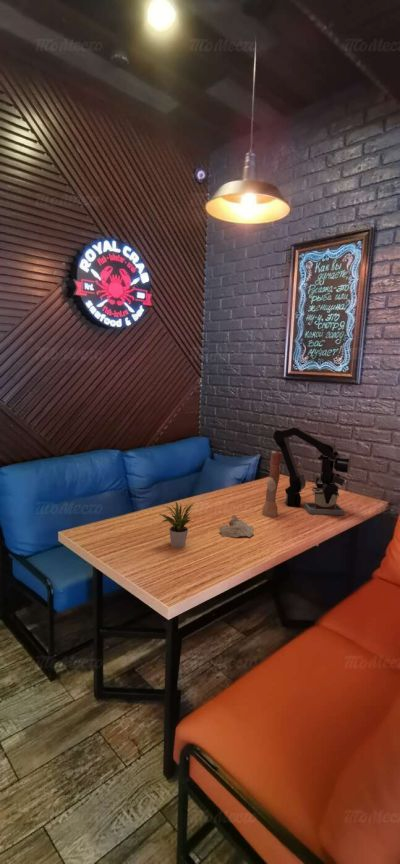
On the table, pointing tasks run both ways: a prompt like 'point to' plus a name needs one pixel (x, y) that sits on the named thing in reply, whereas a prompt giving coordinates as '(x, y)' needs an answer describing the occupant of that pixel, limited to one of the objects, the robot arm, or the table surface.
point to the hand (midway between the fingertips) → (324, 500)
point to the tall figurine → (272, 486)
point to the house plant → (178, 525)
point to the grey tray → (323, 510)
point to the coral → (236, 529)
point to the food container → (324, 500)
